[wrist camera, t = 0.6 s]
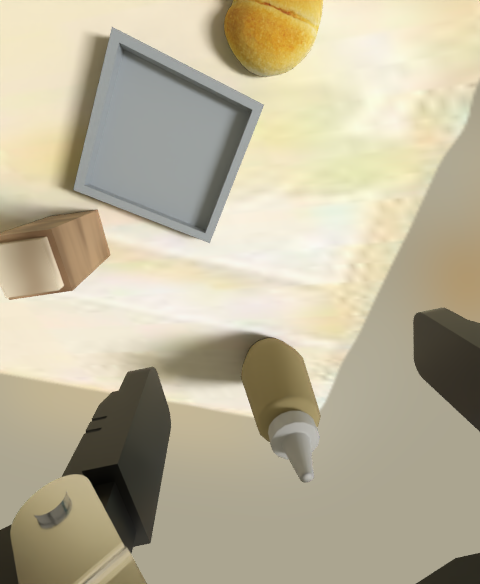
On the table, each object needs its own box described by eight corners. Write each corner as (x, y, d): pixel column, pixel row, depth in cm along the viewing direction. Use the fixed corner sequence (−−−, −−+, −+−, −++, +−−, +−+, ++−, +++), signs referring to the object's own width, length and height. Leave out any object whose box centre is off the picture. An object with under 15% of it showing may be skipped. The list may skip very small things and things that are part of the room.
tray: (82, 188, 33) (73, 189, 31) (119, 38, 29) (112, 26, 27) (209, 238, 36) (209, 243, 34) (259, 109, 32) (263, 104, 30)
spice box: (65, 261, 36) (1, 304, 25) (50, 216, 34) (-27, 241, 23) (110, 255, 36) (67, 295, 25) (97, 209, 34) (44, 231, 23)
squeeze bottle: (298, 376, 45) (353, 502, 28) (241, 385, 44) (262, 517, 28) (296, 325, 42) (356, 432, 25) (235, 334, 41) (254, 448, 25)
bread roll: (215, 60, 30) (216, 45, 27) (245, -57, 28) (251, -92, 24) (294, 94, 32) (305, 84, 28) (331, -14, 29) (349, -40, 26)
